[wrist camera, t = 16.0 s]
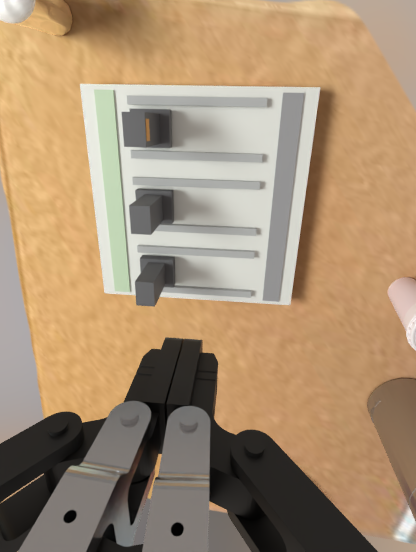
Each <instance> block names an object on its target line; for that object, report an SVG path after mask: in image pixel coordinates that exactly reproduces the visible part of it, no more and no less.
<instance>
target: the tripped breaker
mask: <svg viewBox="0 0 416 552" xmlns="http://www.w3.org/2000/svg"><path fill="white" fill-rule="evenodd" d="M129 110H130V112H122V125H123V138H124V147H144V148H172V112H171V110H170V109H129Z"/></svg>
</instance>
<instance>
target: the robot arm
mask: <svg viewBox="0 0 416 552" xmlns="http://www.w3.org/2000/svg"><path fill="white" fill-rule="evenodd" d="M217 374H218V361H217V359H216V357H215V355H214V354H213V353H202V340H194V339H179V338H165V340H164V343H163V346H162V348H161V350H160V349H151V350H150V351H149V352H148V353H147V354H146V355H144V356H143V358H142V361H141V363H140V365H139V368H138V370H137V372H136V375H135V377H134V379H133V382H132V384H131V386H130V389H129V391H128V393H127V396H126V398H125V400H124V403H121V404H119V405H118V406H116V407H115V408H114V409H113V410H112V411H111V412H110V414H109V415H108V417H107V418H104V419H100V420H95V421H89V422H84V423H82V421H81V418H80V417H79V416H78V415H77V414H75V413H73V412H59V413H56V414H53V415H51V416H49V417H47V418H45V419H44V420H42V421H40V422H38V423H36V424H35V425H33V426H31V427H29V428H28V429H26V430H24V431H22V432H20V433H19V434H17V435H15V436H13V437H12V438H10V439H8V440H6V441H4V442H3V443H1V444H0V552H17V551H18V550H19V551H18V552H208V539H209V538H208V537H209V501H210V502H212V503H214V504H216V505H218V506H221V507H223V508H225V509H227V512H228V515H229V517H230V519H231V521H232V522H233V524H234V525H235V527H236V528H237V530H238V531H239V533H240V535H241V536H242V538H243V539H244V541H245V542H246V544H247V545H248V547H249V548H250V550H251V552H377V550H376V549H375V548H374V547H373V546H372V545H371V544H370V543H369V542H368V541H367V540H366V538H365V537H363V535H362V534H361V533H360V532H359V531H358V530H357V529H356V528H355V527H354V526H353V525H352V524H351V523H350V521H349V520H348V519H347V518H346V517H345V516H344V515H343V514H342V513H341V512H340V511H339V510H338V509H337V508H336V507H335V505H334V504H333V503H332V502H331V501H330V500H329V499H328V498H327V497H326V496H325V495H324V494H323V493H322V492H321V491H320V490H319V488H318V487H317V486H316V485H315V484H314V483H313V482H312V481H311V480H310V479H309V478H308V477H307V476H306V475H305V474H304V472H303V471H302V470H301V469H300V468H299V467H298V466H297V465H296V464H295V463H294V462H293V461H292V460H291V459H290V458H289V457H288V455H287V454H286V453H285V452H284V451H283V450H282V449H281V448H280V447H279V446H278V445H277V444H276V443H275V442H274V441H273V439H272V438H270V437H269V436H268V435H267V434H265V433H263V432H261V431H257V430H245V431H242V432H240V433H238V434H237V435H234V434H232V433H229V432H227V431H225V430H224V429H222V428H221V427H220V426H219V425H218V424H217V423H216V421H215V420H214V414H215V404H216V394H217ZM367 406H368V411H369V413H370V416H371V419H372V421H373V423H374V425H375V428H376V430H377V432H378V435H379V437H380V439H381V442H382V444H383V446H384V449H385V451H386V453H387V456H388V458H389V460H390V463H391V465H392V467H393V470H394V472H395V474H396V477H397V479H398V481H399V484H400V486H401V488H402V491H403V493H404V495H405V498H406V500H407V502H408V505H409V507H410V509H411V511H412V514H413V516H414V518H415V521H416V380H415V379H408V378H403V379H395V380H391V381H388V382H386V383H384V384H382V385H380V386H379V387H378V388H376V389H375V390H374V391H373V392H372V394H371V395H370V397H369V399H368V404H367ZM158 454H162V457H161V463H160V469H159V475H158V477H156V478H155V481H154V485H153V491H152V497H151V503H150V508H149V514H148V521H147V526H146V532H145V538H144V544H141V545H136V546H133V542H134V536H135V533H136V529H137V526H138V523H139V520H140V517H141V514H142V511H143V508H144V505H145V502H146V499H147V496H148V493H149V490H150V487H151V484H152V481H153V478H154V475H155V465H156V461H157V457H158ZM43 473H44V475H43V476H41V477H40V478H38V479H37V480H35V481H34V482H32V483H31V484H29V485H28V486H26V487H25V488H23V489H22V490H20V491H19V492H17V493H16V494H14V495H13V496H12V497H10V498H8V499H7V500H5V501H4V502H2V501H3V500H4V499H5V498H7V497H8V496H10V495H11V494H13V493H14V492H16V491H17V490H19V489H20V488H22V487H23V486H25V485H26V484H28V483H29V482H31V481H32V480H34V479H35V478H37V477H38V476H40V475H41V474H43ZM1 502H2V503H1Z"/></svg>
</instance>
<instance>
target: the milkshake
mask: <svg viewBox="0 0 416 552" xmlns="http://www.w3.org/2000/svg"><path fill="white" fill-rule="evenodd" d="M0 20H1V21H4V22H7V23H11V24H15V25H19V26H24V27H28V28H32V29H35V30H38V31H42V32H45V33H49V34H52V35H60V36H63V35H65V34H66V33H67V32H68V31H69V30H71V25H72V20H73V17H72V14H71V11H70V7H69V5H68V4H67V3H66V2H64V1H63V0H0Z"/></svg>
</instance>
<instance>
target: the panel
mask: <svg viewBox="0 0 416 552" xmlns="http://www.w3.org/2000/svg"><path fill="white" fill-rule="evenodd" d="M80 89H81V98H82V106H83V115H84V123H85V131H86V140H87V148H88V157H89V165H90V174H91V182H92V191H93V199H94V207H95V216H96V224H97V233H98V241H99V250H100V258H101V267H102V275H103V284H104V292H105V293H109V294H125V295H136V305H141V306H155V305H156V303H157V301H158V299H159V297H171V298H187V299H202V300H218V301H233V302H249V303H264V304H280V305H290V303H291V296H292V288H293V281H294V274H295V267H296V260H297V252H298V245H299V238H300V231H301V223H302V216H303V209H304V202H305V195H306V187H307V180H308V173H309V166H310V158H311V151H312V144H313V137H314V129H315V122H316V115H317V108H318V101H319V93H320V87H256V86H188V85H120V84H80ZM129 109H170V110H171V112H172V148H144V147H124V138H123V125H122V112H130V110H129Z"/></svg>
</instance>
